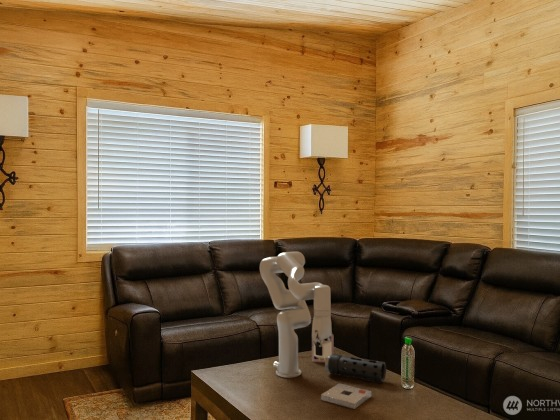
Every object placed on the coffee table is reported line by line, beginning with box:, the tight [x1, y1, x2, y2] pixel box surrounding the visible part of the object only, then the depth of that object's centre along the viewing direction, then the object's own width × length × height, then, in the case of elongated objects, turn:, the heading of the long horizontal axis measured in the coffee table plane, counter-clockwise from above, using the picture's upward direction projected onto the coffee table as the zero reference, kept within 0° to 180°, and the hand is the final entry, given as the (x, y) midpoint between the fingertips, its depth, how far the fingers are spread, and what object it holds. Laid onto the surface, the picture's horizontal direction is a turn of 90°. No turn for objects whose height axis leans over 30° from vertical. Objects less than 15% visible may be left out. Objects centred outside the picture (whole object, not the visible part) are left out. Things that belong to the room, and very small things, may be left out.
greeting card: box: [311, 334, 335, 363], centre depth 267 cm, size 11×7×15 cm, turn 81°
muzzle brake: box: [324, 353, 387, 384], centre depth 241 cm, size 10×28×10 cm, turn 62°
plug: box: [311, 340, 332, 361], centre depth 224 cm, size 8×6×8 cm
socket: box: [320, 383, 372, 410], centre depth 217 cm, size 16×16×3 cm
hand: (322, 353), depth 223 cm, fingers closed on plug, 5 cm apart
